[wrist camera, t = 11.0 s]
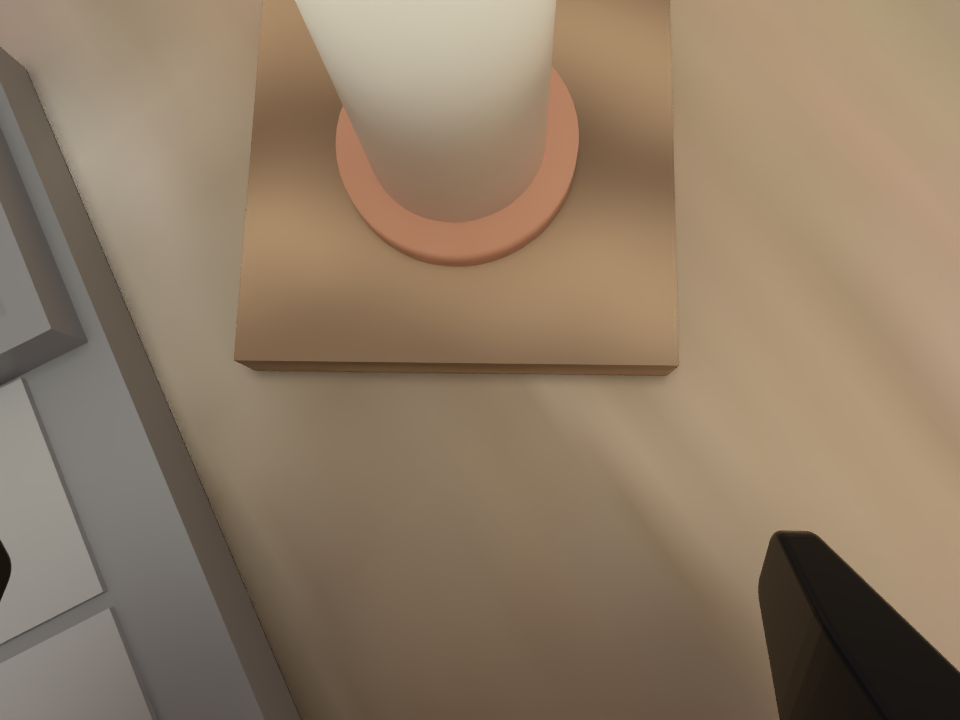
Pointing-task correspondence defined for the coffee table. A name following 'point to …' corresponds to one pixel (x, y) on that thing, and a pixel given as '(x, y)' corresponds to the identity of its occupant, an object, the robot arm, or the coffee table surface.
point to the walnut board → (478, 288)
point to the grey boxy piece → (101, 484)
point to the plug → (449, 121)
